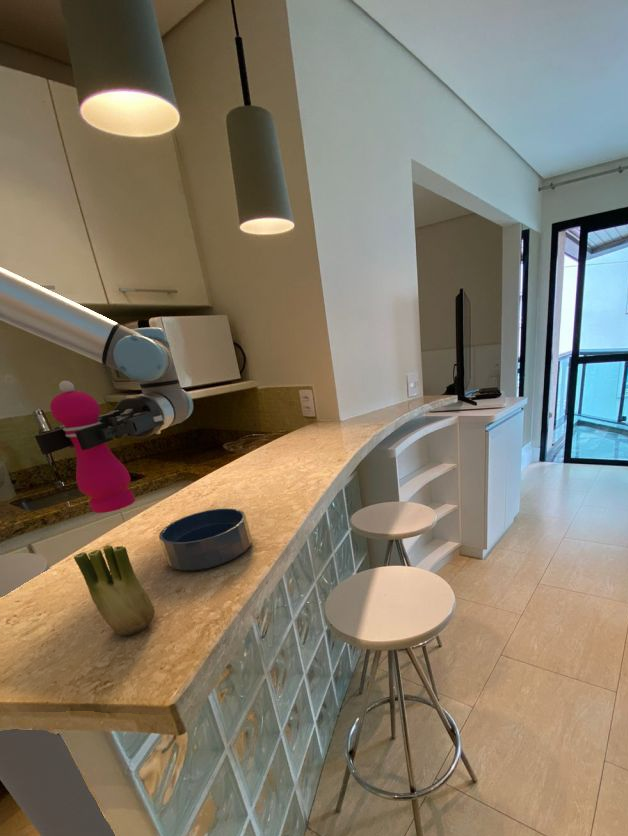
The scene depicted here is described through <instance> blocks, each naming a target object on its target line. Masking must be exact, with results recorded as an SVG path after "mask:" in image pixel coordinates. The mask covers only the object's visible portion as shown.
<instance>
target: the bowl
mask: <svg viewBox="0 0 628 836" xmlns="http://www.w3.org/2000/svg"><path fill="white" fill-rule="evenodd" d="M158 539H159V542H160V545H161V548H162V551H163V553H164V556H165V559H166V561H167V565H169V566H170V567H171V568H172V569H175V570H179V571H199V570H206V569H211V568H214V567H218V566H220V565H224V564H225V563H228V562H230V561H232V560H234V559H235V558H237V557H238V556H240V555H242V554H243V553H245V552H246V550H247V549H248V548H249V547H251V544H252V541H253V539H252V535H251V531H250V527H249V524H248V520H247V515H246V514H245V512H244V511H242V510H240V509H237V508H229V507H227V508H215V509H214V508H213V509H208V510H204V511H199V512H196V513H192V514H189V515H187V516H184V517H181V518H179V519H177V520H175V521H173V522H171V523H170V524H168V525H166V526H165V527H164V528H163V529H162V530H161V531H160V532H159V533H158Z"/></svg>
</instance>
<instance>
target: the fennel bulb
mask: <svg viewBox="0 0 628 836" xmlns="http://www.w3.org/2000/svg"><path fill="white" fill-rule="evenodd" d="M102 551H103V552H102ZM102 551H101V549H95V550H92V551H90V552H88V553H87V552H85V551H82V552H79V553H77V554H75V555H73V559H74V561H75V563H76V565H77V567H78V569H79V570H80V573H81V575H82V577H83V579H84V580H85V584H86V587H87V589H88V592H89V595H90V598H91V599H92V602H93V603H94V606H95V607H96V609H97V610H98V612H99V614H100V615H101V616H102V618H103V620H104V621H105V623H107V625H108V626H109V628H110V629H112V630H113V631H114V632H116V633H117V634H119V635H120V636H132V635H134V634H137V633H140V632H141V631H143V630H144V629H145V628H146V627H147V626H148V625H149V624H150V623H151V622H152V621H153V619H154V617H155V613H156V611H155V608H154V607H155V606H154V605H153V603H152V600H151V598H150V596H149V594H148V592H147V590H146V589H145V587H143V585H142V584H141V582H140V581H139V579H138V578H137V575H136V574H135V571H134V568H133V566H132V563H131V561H130V557H129V553H128V551H127V548H126V546H123V545H118V546H114V547H113V546H112V545H104V546H103V549H102ZM103 553H104V555H103Z"/></svg>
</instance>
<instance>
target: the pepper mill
mask: <svg viewBox="0 0 628 836" xmlns="http://www.w3.org/2000/svg"><path fill="white" fill-rule="evenodd" d="M58 388H59V389H60V391H61V393H60V394H57V395H55V396H54V397H53V398H52V400H51V402H50V406H49V407H50V408H49V409H50V412H51V415H52V417H53V418H54V419H55V421H57V422H58V423H60V424H61V425H62V426H63V425H64V426H65V428H63V431H65V433H66V437H70V439H71V441H72V443H73V445H74V451H75V456H76V469H75V470H76V471H75V479H76V484H77V488H78V490H79V491H80V492H81V493H82V494H84V495H86V496H88V497H89V498H90V499H89V501H88V504H89V506H90V508H91V511H92V512H93V513H95V514H105V513H110V512H115V511H118V510H121V509H124V508H127V507H129V506H131V505H132V504H134V503H135V502H136V498H135V497H136V496H135V495H134V492H133V490H132V489H128V487H129V486H130V483H131V479H132V478H131V475H130V473H129V471H128V469H127V468H126V466H125V465H124V463H122V461H120V460H119V458H118V457H116V456H115V454H114V453H113V452H112V451H111V449H110V448H109V446H108V445H107V442H106V443H103V444H101V445H98V446H95V447H93V448H90V449H88V450H82V449H81V446H80V444H79V441H78V439H77V436H76V434H75V431H78V430H81V429H84V428H88V427H91V426H94V425H97V424H101V422H98V421H97V419H98V416H100V415H101V408H100V405H99V403H98V401H97V400H96V399H95V398H94V397H93V396H92V395H91V394H88V393H87V392H83V391H78V390H75V386H74V384H73V382H71V381H70V380H62V381H60V382H59V385H58Z"/></svg>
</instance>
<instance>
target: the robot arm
mask: <svg viewBox="0 0 628 836" xmlns="http://www.w3.org/2000/svg"><path fill="white" fill-rule="evenodd" d="M0 321H1V322H4V323H5V324H8V325H11V326H12V327H15V328H18V329H20V330H23V331H25V332H27V333H30V334H32V335H34V336H37V337H38V338H41V339H43V340H46V341H48V342H51V343H53V344H55V345H58V346H60V347H63V348H65V349H67V350H70V351H72V352H74V353H76V354H79V355H82V356H84V357H86V358H88V359H90V360H93V361H96V362H98V363H100V364H102V365H105V366H107V367H109V368H112V369H114V370H116V371H118V372H120V373H122V374H124V375H125V376H126V378H127V377H128V378H129V379H131V380H134V381H137V382H138V383H139V386H140V389H141V393H140V394H136V395H133V396H128V397H125V398H122V399H121V400H120V401H118V402H117V403H116V405H115V406H114V410H112V411H108V413H105V414H100V415H99V416H98V419H97V421H98V422H101V424H97V425H94V426H91V427H88V428H84V429H81V430H78V431H75V434H76V436H77V439H78V441H79V444H80V446H81V449H82V450H88V449H90V448H93V447H95V446H98V445H101V444H103V443H106V444H107V443H108V442H111V441H113V440H114V439H122V438H124V437H125V436H127V437H130V438H131V437H133V438H136V439H144V438H147V437H149V436H152V435H154V434H156V435H160V434H162V433H161V432H162V430H165V429H167V428H169V427H172V426H174V425H175V426H176V425H177V424H181V423H183V422H184V421H186V420H188V419H189V417H190V416H191V415H192V414H193V411H194V401H193V398H192V397H191V396H190V394H189V393H188V392H187V391H186V390H185V389H183V388H182V386H181V383H180V380H179V378H178V374H177V370H176V367H175V363H174V358H173V356H172V355H173V354H172V353H171V349H170V346H171V345H170V343H169V341H168V339H167V338H168V337H167V336H166V333H165V331H164V330H163V329H162V328H160V327H140V328H129V327H127V326H124V325H122V324H119V323H118V322H116V321H114V320H112V319H109V318H107V317H106V316H103V315H102V314H99V313H97V312H95V311H94V310H91V309H89V308H87V307H84V306H82V305H80V304H79V303H76V302H74V301H72V300H70V299H68V298H65V297H64V296H61V295H59V294H57V293H56V292H53V291H51V290H49V289H47V288H45V287H42V286H40V285H38V284H37V283H34V282H32V281H30V280H28V279H26V278H23V276H19V275H18V274H15V273H13V272H11V271H9V270H7V269H5V268H2V267H1V266H0ZM63 428H65V426H64V425H63V424H62V425H59V426H58V425H57V426H55V427H53V428H52V429H53V430H50V431H47V432H44V433H40V434H37V435H34V438H35V440H36V442H37V445H38V447H39V449H40V451H41V454H42V455H49V454H52V453H55V452H58V451H60V450H63V449H66V448H69V449H73V448H74V445H73V443H72V441H71V439H70V437H66V433H65V431H63ZM74 449H75V448H74Z"/></svg>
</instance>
